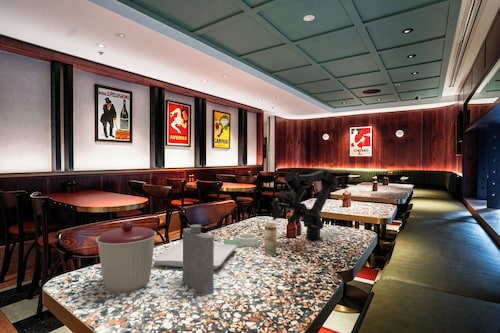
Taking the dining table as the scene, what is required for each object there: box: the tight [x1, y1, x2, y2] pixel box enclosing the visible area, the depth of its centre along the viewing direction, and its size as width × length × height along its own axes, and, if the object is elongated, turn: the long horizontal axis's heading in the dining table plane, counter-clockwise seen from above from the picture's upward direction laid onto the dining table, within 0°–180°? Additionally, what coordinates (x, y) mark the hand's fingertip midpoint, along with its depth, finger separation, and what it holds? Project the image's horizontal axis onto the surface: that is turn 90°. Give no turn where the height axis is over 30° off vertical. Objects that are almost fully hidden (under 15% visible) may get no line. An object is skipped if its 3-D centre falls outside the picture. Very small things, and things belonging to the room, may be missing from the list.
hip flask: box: [182, 224, 215, 295], centre depth 90 cm, size 16×4×20 cm, turn 42°
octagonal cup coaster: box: [223, 233, 261, 249], centre depth 137 cm, size 18×15×4 cm
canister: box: [94, 220, 157, 294], centre depth 90 cm, size 18×18×21 cm
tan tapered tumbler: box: [264, 222, 277, 256], centre depth 123 cm, size 5×5×13 cm
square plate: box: [152, 241, 238, 270], centre depth 115 cm, size 27×27×4 cm
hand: (281, 221), depth 128 cm, fingers open, 9 cm apart
